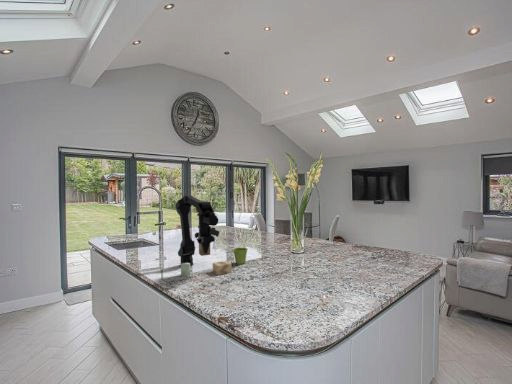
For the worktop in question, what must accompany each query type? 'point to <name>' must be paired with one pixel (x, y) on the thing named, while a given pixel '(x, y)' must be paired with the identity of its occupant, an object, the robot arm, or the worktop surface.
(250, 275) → the worktop surface
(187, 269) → the sage cylinder
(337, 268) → the worktop surface
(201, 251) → the walnut cube
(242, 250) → the plant pot
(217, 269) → the oak block
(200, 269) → the worktop surface
